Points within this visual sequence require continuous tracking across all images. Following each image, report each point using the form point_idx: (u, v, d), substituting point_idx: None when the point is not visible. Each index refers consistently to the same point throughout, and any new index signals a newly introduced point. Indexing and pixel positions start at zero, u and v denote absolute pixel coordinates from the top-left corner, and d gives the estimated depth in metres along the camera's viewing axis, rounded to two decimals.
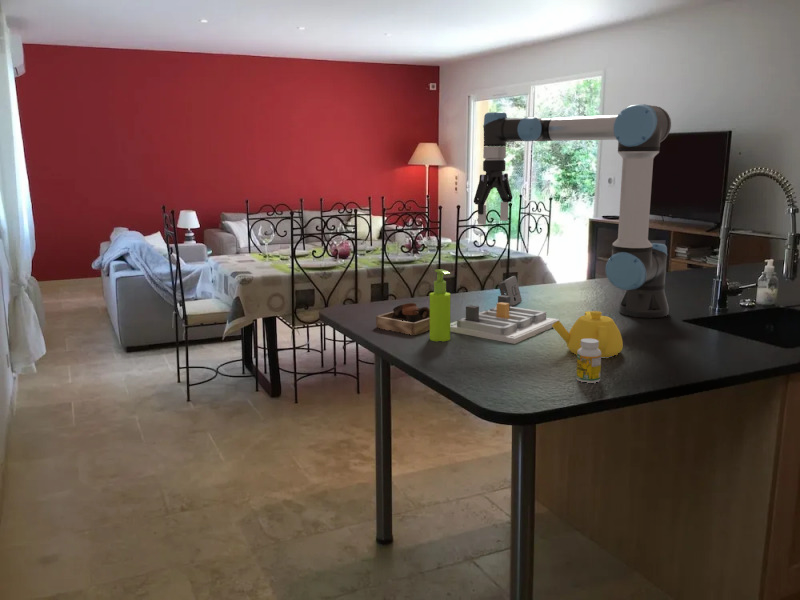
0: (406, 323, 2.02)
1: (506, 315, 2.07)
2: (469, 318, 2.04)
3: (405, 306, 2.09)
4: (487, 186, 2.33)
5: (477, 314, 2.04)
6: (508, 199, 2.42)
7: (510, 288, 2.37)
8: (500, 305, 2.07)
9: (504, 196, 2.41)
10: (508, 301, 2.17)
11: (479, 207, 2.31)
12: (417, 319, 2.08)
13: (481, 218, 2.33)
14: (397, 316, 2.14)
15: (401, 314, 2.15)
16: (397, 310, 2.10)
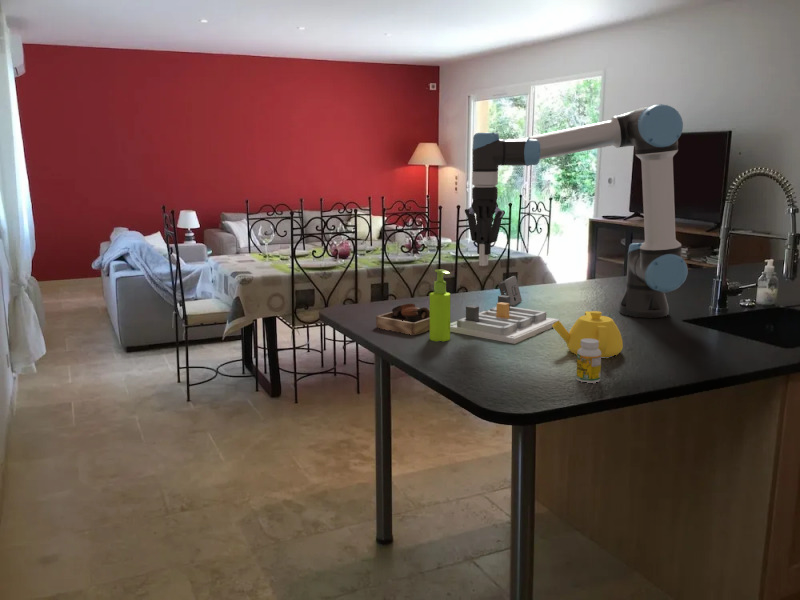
0: (406, 323, 2.02)
1: (506, 315, 2.07)
2: (469, 318, 2.04)
3: (404, 307, 2.08)
4: None
5: (477, 314, 2.04)
6: (485, 241, 2.06)
7: (510, 288, 2.37)
8: (500, 305, 2.07)
9: None
10: (508, 301, 2.17)
11: None
12: (416, 320, 2.07)
13: None
14: (396, 317, 2.14)
15: (400, 315, 2.14)
16: (396, 311, 2.09)
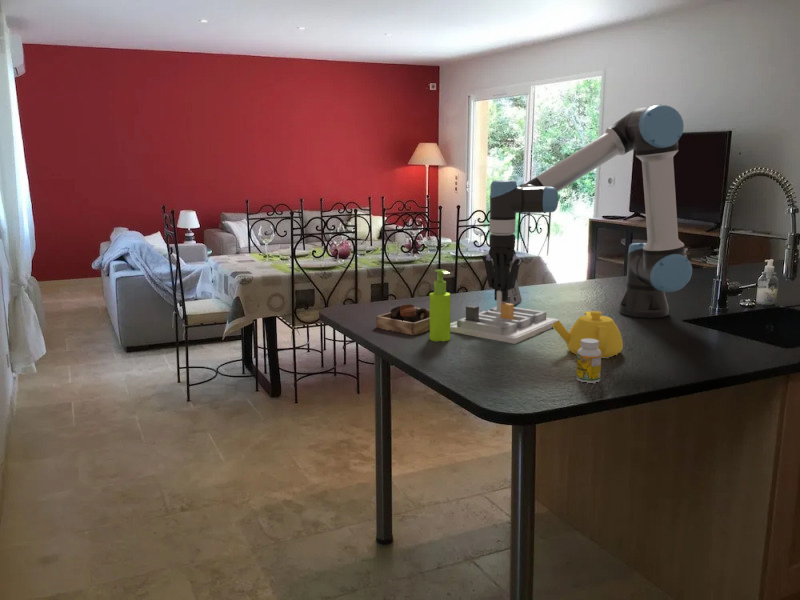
0: (406, 323, 2.02)
1: (510, 315, 2.06)
2: (469, 318, 2.04)
3: (403, 307, 2.08)
4: None
5: (477, 314, 2.04)
6: (502, 288, 2.05)
7: None
8: (504, 306, 2.06)
9: None
10: (508, 301, 2.17)
11: None
12: (415, 320, 2.06)
13: None
14: (394, 317, 2.13)
15: (398, 315, 2.13)
16: (395, 311, 2.08)
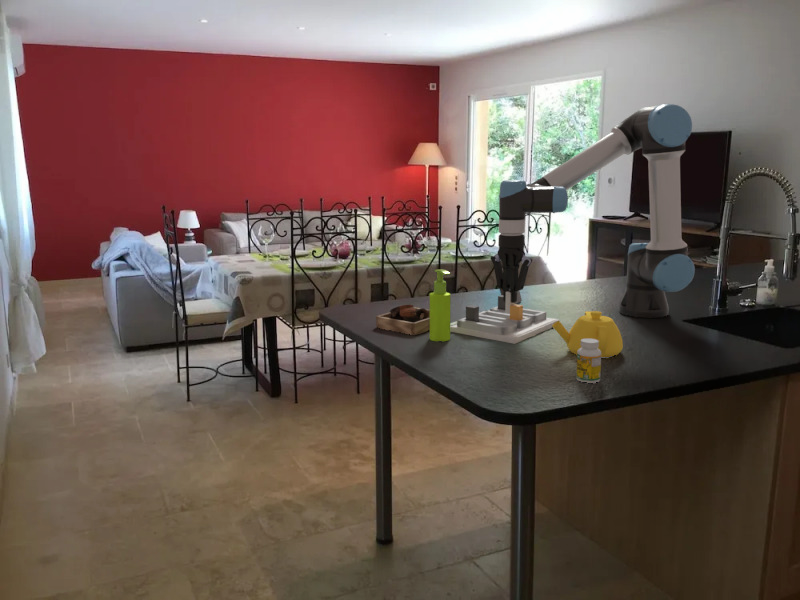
0: (406, 323, 2.02)
1: (520, 317, 2.04)
2: (469, 318, 2.04)
3: (402, 308, 2.07)
4: None
5: (477, 314, 2.04)
6: (512, 289, 2.03)
7: None
8: (513, 307, 2.04)
9: None
10: None
11: None
12: (415, 321, 2.06)
13: None
14: (394, 318, 2.12)
15: (398, 316, 2.13)
16: (394, 312, 2.07)
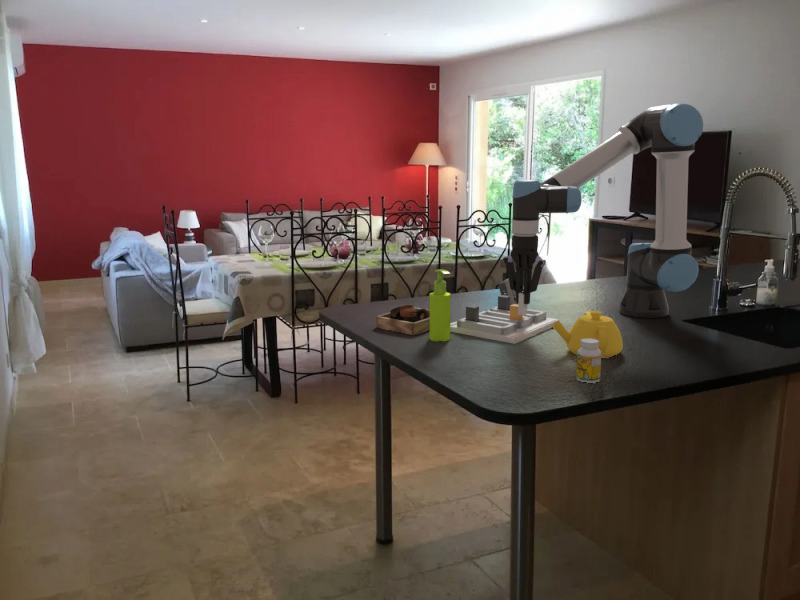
0: (406, 323, 2.02)
1: (520, 317, 2.04)
2: (469, 318, 2.04)
3: (403, 308, 2.07)
4: None
5: (477, 314, 2.04)
6: (525, 290, 2.00)
7: None
8: (513, 307, 2.04)
9: None
10: (508, 301, 2.17)
11: None
12: (415, 321, 2.06)
13: None
14: (394, 318, 2.12)
15: (398, 316, 2.13)
16: (395, 312, 2.07)
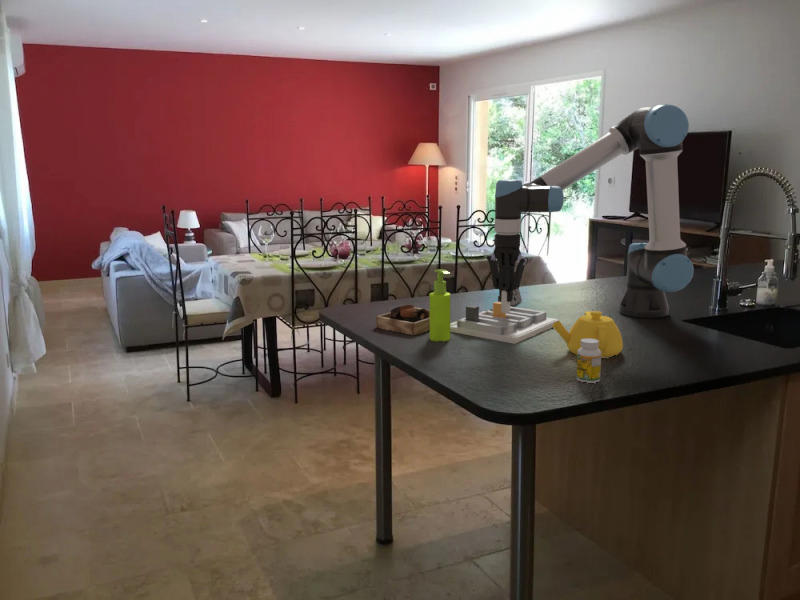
0: (406, 323, 2.02)
1: (503, 314, 2.08)
2: (469, 318, 2.04)
3: (403, 308, 2.07)
4: None
5: (477, 314, 2.04)
6: (507, 288, 2.04)
7: None
8: (496, 304, 2.07)
9: None
10: None
11: None
12: (415, 321, 2.06)
13: None
14: (394, 318, 2.12)
15: (398, 316, 2.13)
16: (395, 312, 2.07)
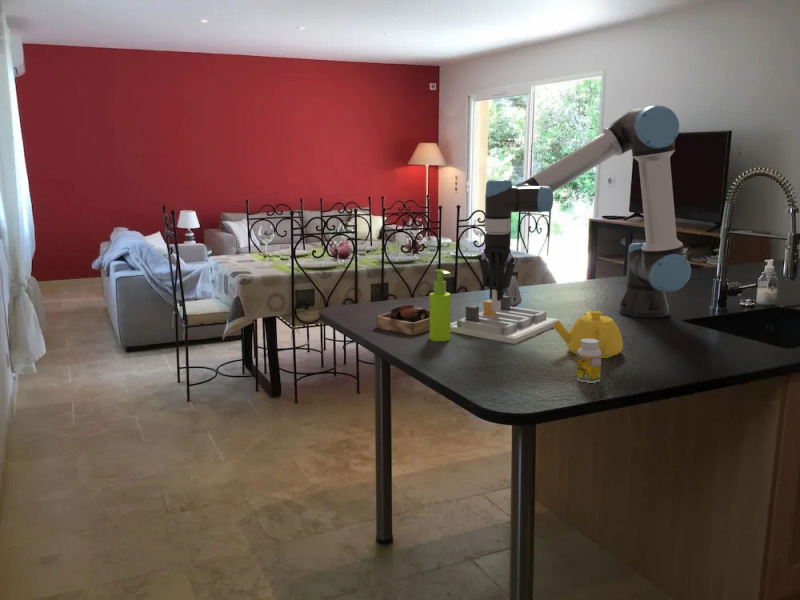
0: (406, 323, 2.02)
1: (493, 313, 2.10)
2: (469, 318, 2.04)
3: (403, 308, 2.07)
4: None
5: (477, 314, 2.04)
6: (498, 287, 2.06)
7: (510, 288, 2.37)
8: (487, 303, 2.09)
9: None
10: (508, 301, 2.17)
11: None
12: (416, 321, 2.06)
13: None
14: (395, 318, 2.12)
15: (398, 316, 2.13)
16: (395, 312, 2.07)
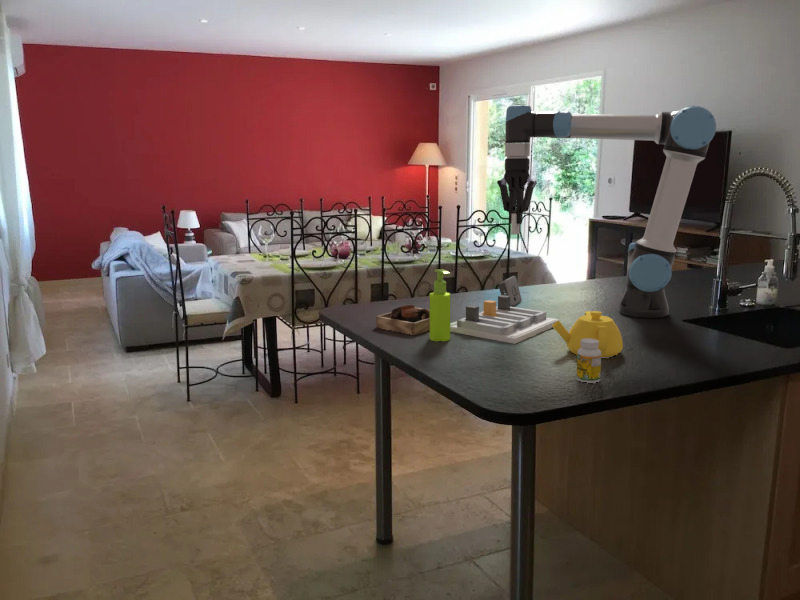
0: (406, 323, 2.02)
1: (493, 313, 2.10)
2: (469, 318, 2.04)
3: (404, 308, 2.06)
4: None
5: (477, 314, 2.04)
6: (517, 210, 2.14)
7: (510, 288, 2.37)
8: (487, 303, 2.09)
9: None
10: (508, 301, 2.17)
11: None
12: (416, 321, 2.06)
13: None
14: (395, 318, 2.12)
15: (399, 316, 2.12)
16: (396, 312, 2.07)
